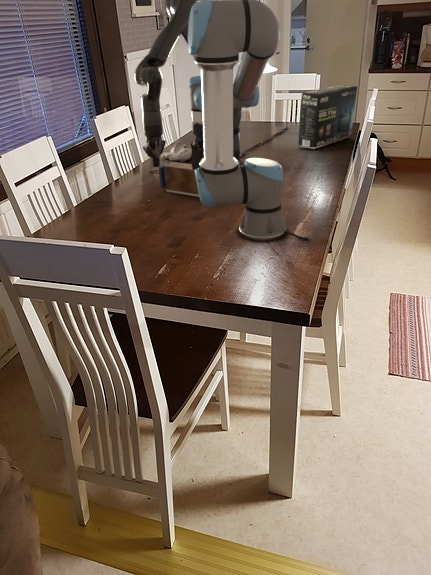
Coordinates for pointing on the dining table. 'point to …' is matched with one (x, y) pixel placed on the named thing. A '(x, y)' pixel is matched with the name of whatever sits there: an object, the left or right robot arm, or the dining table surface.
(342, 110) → the router box
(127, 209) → the dining table surface
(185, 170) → the brown rectangular box
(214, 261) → the dining table surface
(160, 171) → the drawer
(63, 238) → the dining table surface
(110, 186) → the dining table surface
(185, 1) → the left robot arm
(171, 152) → the fossil
